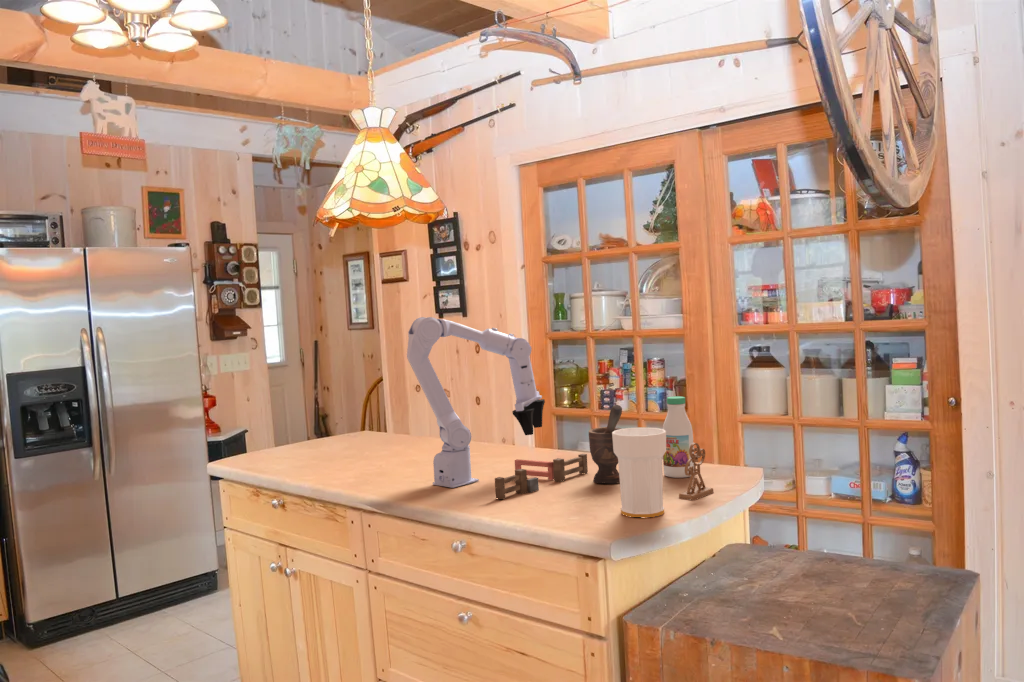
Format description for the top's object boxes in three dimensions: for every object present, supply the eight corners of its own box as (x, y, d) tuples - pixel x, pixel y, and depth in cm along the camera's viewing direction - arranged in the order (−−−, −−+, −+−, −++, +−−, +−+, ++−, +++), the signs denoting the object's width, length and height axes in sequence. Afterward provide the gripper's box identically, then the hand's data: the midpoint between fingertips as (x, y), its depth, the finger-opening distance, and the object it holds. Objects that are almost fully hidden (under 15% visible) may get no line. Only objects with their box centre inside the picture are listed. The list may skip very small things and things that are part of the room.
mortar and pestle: (641, 482, 198) (638, 402, 197) (618, 489, 192) (614, 406, 191) (607, 476, 207) (603, 399, 206) (583, 482, 201) (580, 403, 200)
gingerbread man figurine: (693, 500, 178) (691, 447, 177) (678, 498, 181) (676, 445, 180) (714, 492, 184) (712, 440, 184) (699, 490, 187) (697, 439, 186)
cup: (642, 523, 162) (638, 437, 161) (604, 513, 171) (600, 432, 170) (681, 512, 169) (677, 430, 168) (642, 503, 178) (638, 425, 177)
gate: (554, 478, 206) (553, 461, 206) (552, 479, 205) (551, 462, 205) (517, 475, 212) (517, 459, 212) (515, 476, 211) (514, 460, 211)
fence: (504, 500, 187) (503, 477, 186) (495, 499, 189) (493, 476, 188) (591, 473, 211) (590, 452, 211) (582, 472, 213) (581, 451, 213)
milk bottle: (672, 470, 209) (669, 394, 208) (700, 473, 204) (696, 395, 203) (658, 476, 203) (654, 398, 202) (686, 479, 198) (682, 399, 197)
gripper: (529, 385, 206) (539, 436, 207) (546, 374, 219) (555, 422, 220) (503, 389, 208) (514, 439, 210) (522, 377, 222) (531, 425, 223)
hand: (533, 430), depth 215 cm, fingers open, 7 cm apart
